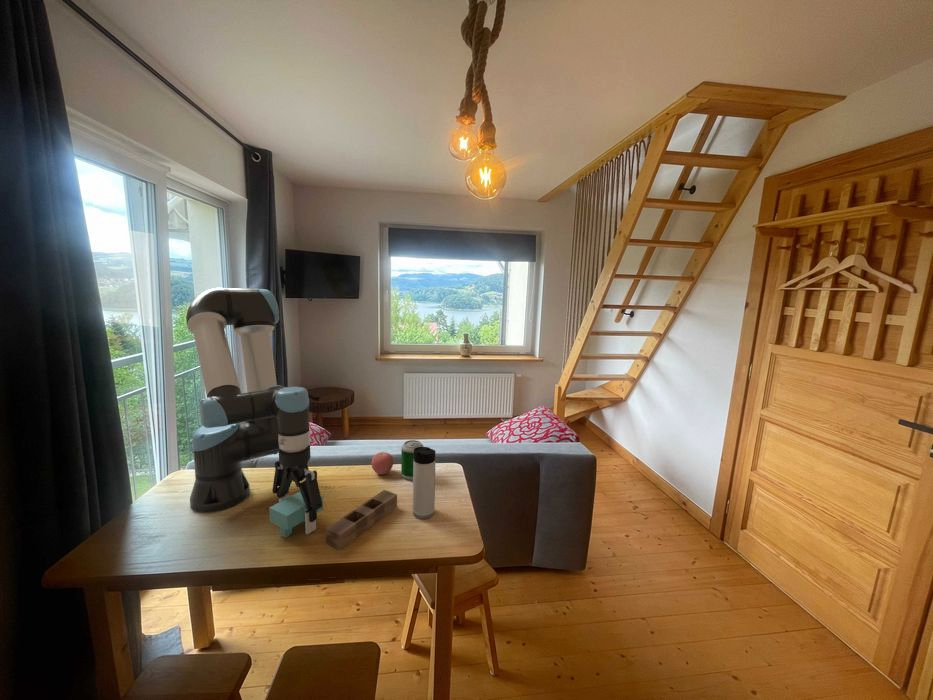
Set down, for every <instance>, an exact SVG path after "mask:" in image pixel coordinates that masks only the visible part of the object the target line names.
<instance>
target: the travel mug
mask: <svg viewBox="0 0 933 700" xmlns="http://www.w3.org/2000/svg"><path fill="white" fill-rule="evenodd" d="M412 485H413V486H412V515H413V516H414V517H415V518H417V519H420V520H426V519H429V518H431V517H433V516H434V514H435V503H436V501H435V500H436V496H435V495H436V450H435V449H432V448H431V447H429V446H424V447H417V448H415V449H414V465H413V480H412Z"/></svg>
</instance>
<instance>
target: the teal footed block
mask: <svg viewBox="0 0 933 700" xmlns="http://www.w3.org/2000/svg"><path fill="white" fill-rule="evenodd" d="M320 495H321V500H322V505H323V506H322V507H321V508H319V509H318V510H317V513H319V512H320V511H322V510H324V498H323V497H324V496H323V495H322V494H320ZM310 506H311V505H310ZM305 510H307V508H306V505H305V503H304V500H303V497H302V495H301V492H300V491H298V492H296V493H294V494H293V495H291V496H290V497H289V498H287V499H285V500H283V501H281V502H279V501H278V502H277V503H275V504H273V505H272V506H270V507H269V522H270V523H272V524H274V525H276V526H278V527H279V534H280V536H281V537H284V538H287V537H289V536H290V535H292V534H293V528H294V527H296V526H298V525H300V524H301V523H303V522H304V523H305Z"/></svg>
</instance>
